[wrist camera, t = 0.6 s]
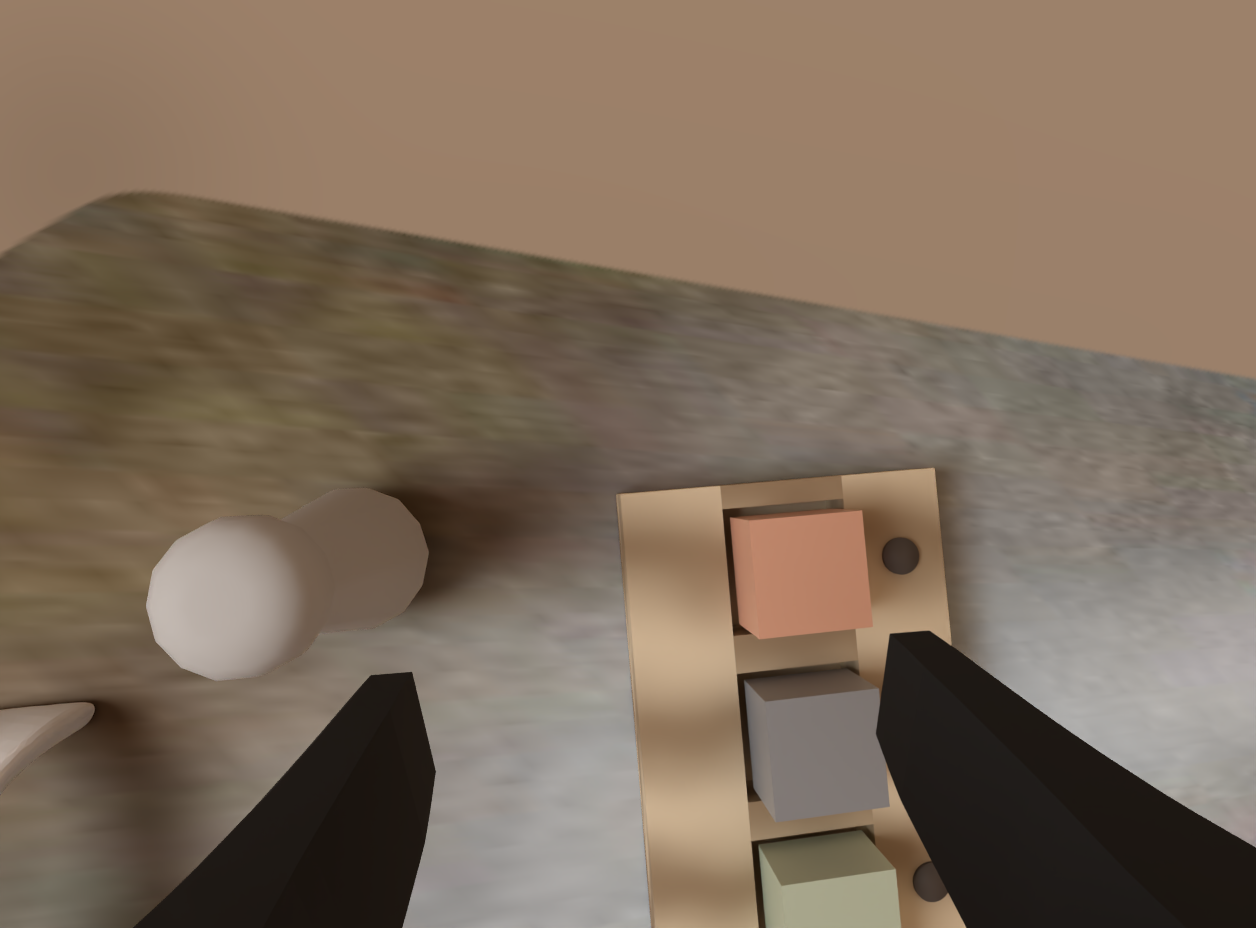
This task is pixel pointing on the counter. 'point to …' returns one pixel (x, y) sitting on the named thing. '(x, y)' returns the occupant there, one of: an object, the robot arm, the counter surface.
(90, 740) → the counter surface
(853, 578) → the key terracotta
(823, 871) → the key sage
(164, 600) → the salt shaker
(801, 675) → the key slate
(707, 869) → the tan wooden slotted tray
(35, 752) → the light grey curved piece
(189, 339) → the counter surface
